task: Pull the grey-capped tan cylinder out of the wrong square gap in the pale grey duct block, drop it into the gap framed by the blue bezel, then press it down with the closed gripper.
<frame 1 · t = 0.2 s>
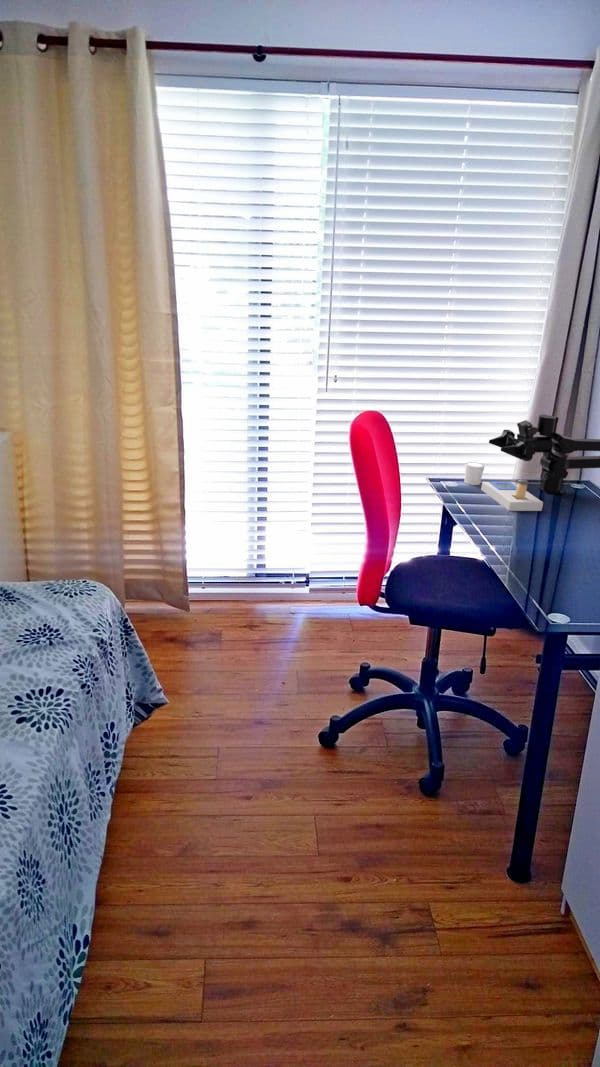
hand: (494, 445, 272), 17 cm above the table, tool horizontal, fingers open, 9 cm apart
grey-capped tan cylinder: (518, 505, 265), resting in duct block
duct block: (510, 499, 270), on the table
white cylinder: (471, 483, 286), on the table
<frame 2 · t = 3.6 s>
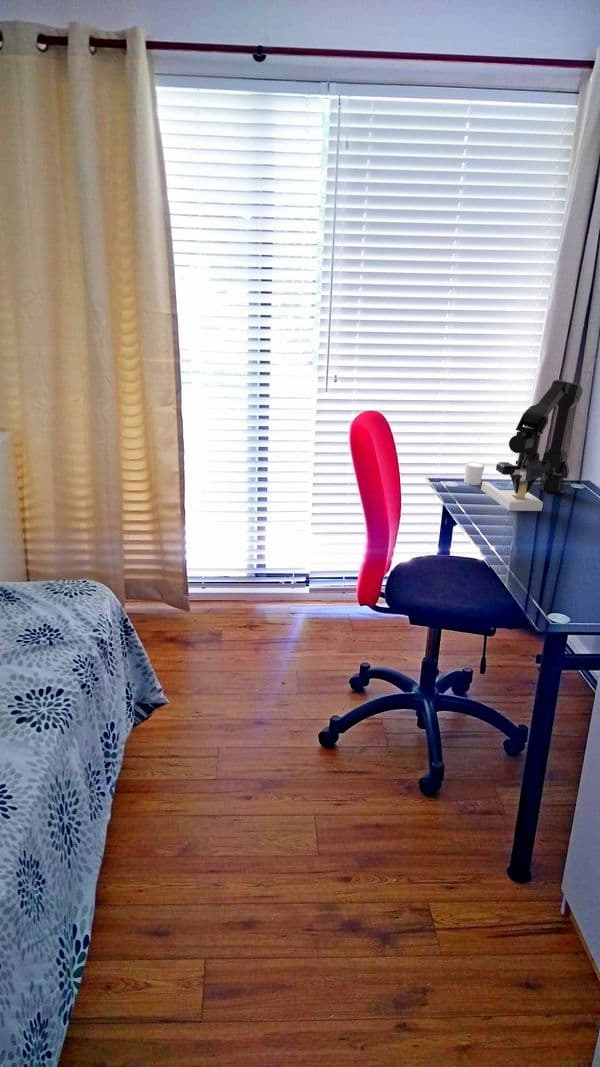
hand: (520, 493, 263), 5 cm above the table, tool pointing down, fingers closed on grey-capped tan cylinder, 3 cm apart
grey-capped tan cylinder: (518, 505, 265), resting in duct block, touching gripper
everything else where it was.
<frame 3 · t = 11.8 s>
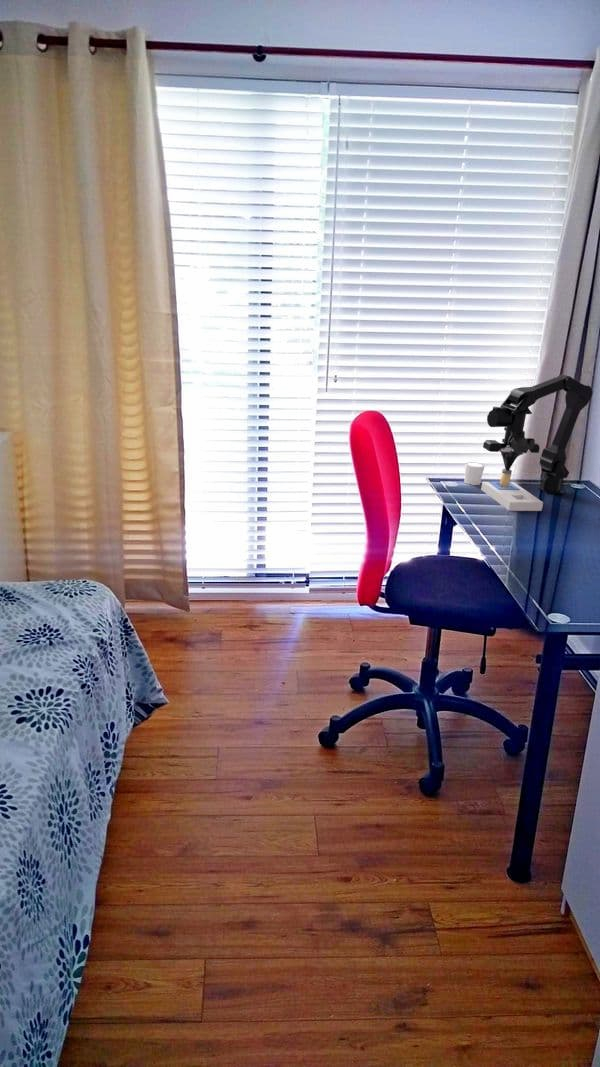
hand: (507, 470, 272), 9 cm above the table, tool pointing down, fingers closed, pressing on grey-capped tan cylinder
grey-capped tan cylinder: (502, 494, 275), resting in duct block, touching gripper
everything else where it was.
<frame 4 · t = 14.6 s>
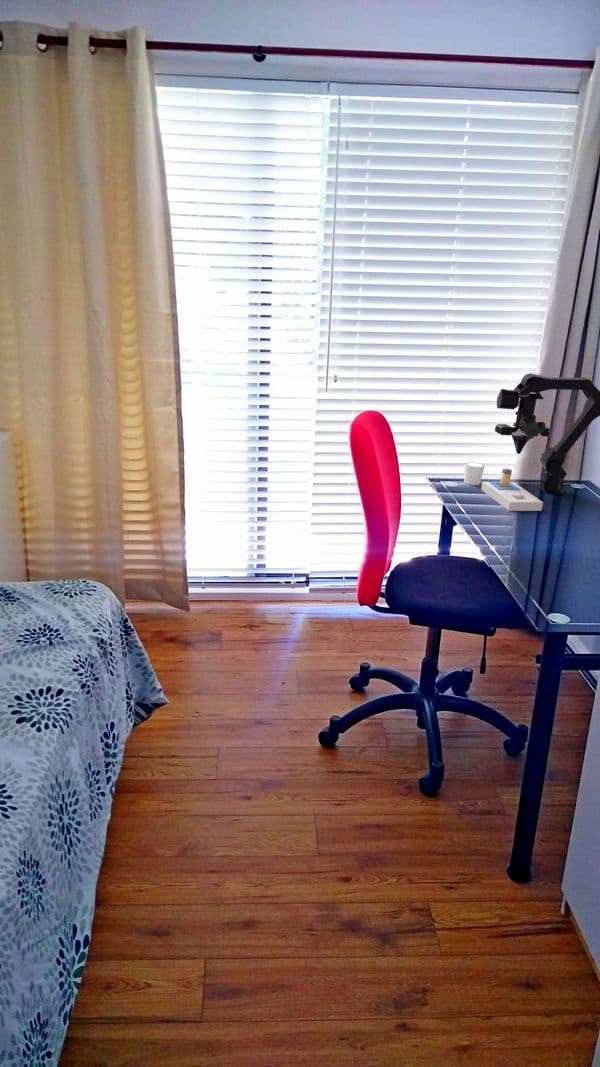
hand: (518, 453, 279), 13 cm above the table, tool pointing down, fingers closed
grey-capped tan cylinder: (502, 494, 275), resting in duct block
everything else where it was.
at the end: grey-capped tan cylinder 0.0 cm from the target spot on the duct block, point 0.0 cm above the duct block's base; grey-capped tan cylinder tilted 0°; the gripper is holding nothing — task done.
